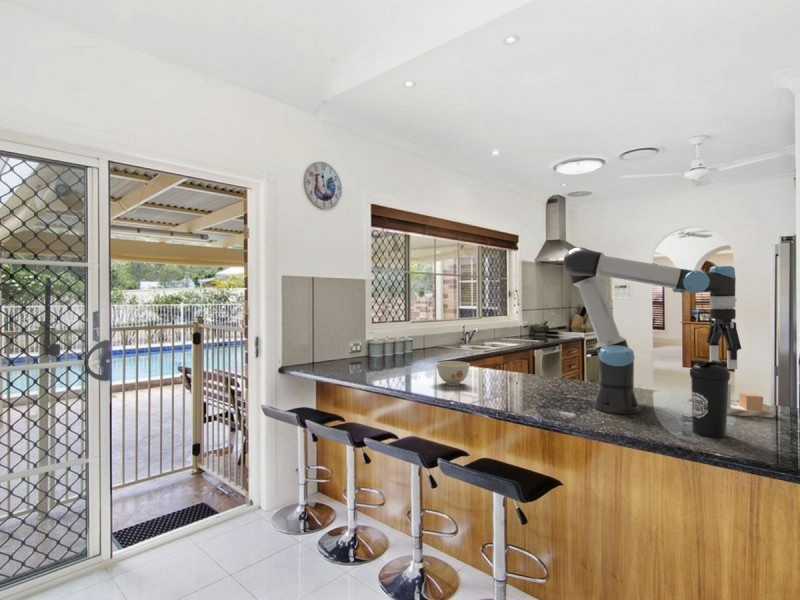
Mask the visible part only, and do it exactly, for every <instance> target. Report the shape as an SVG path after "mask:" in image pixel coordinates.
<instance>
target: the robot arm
mask: <svg viewBox="0 0 800 600" xmlns="http://www.w3.org/2000/svg"><path fill="white" fill-rule="evenodd" d="M563 267H564V270H566V272H567V273H568V275H569V277H570V280H571V282H572V283H571V284H572V285H573V286H575V287H577V288H578V291H579V295H580V297H581V299H582V302H583V305H584V307H585V310H586V313H587V315H588V319H589V321H590V325H591V327H592V329H593V332H594V335H595V338H596V340H597V343H596V345H595V350H596V351H597V355H598V359H599V360H598V361H599V370H598V371H599V374H598V375H599V377H598V378H599V382H598V383H599V385H598V390H597V393H596V396H595V398H594V403H593V405H594V408H595V409H596V410H599V411H601V412H606V413H611V414H615V415H616V414H617V415H634V414H637V413H639V412H640V407H639V406H640V405H639V401H638V399H637V396H636V393H635V390H634V387H635V386H634V383H635V382H634V381H635V379H634V374H635V373H634V371H635V365H634V363H635V362H634V361H635V355H634V354H635V352H634V350H633V349H632V348H631V347H629V345H628V342H627V340H626V338H625V337H623V336H621V335H620V333H619V330H618V327H617V325H616V322H615V319H614V315H613V313H612V311H611V308H610V306H609V304H608V300H607V297H606V294H605V292H604V290H603V286H602V285H601V281H600V280H601V278H602V276H603V277H608V278H612V279H613V278H614V279H618V280H623V281H624V280H625V281H629V282H635V283H640V284H646V285H652V286H656V287H657V286H658V287H663V288H666V289H667V288H668V289H671V290H672V292H674V293H680V294H683V293H693V294H700V293H709V307H710V309H709V318H710V319H711V320H709V321H710V323H709V324H710V325H709V330H708V334H707V337H706V344H708V345H709V362H711V361H712V360H719V361H720V358H719V357H720V356H719V355H720V353H719V352H720V351H719V350H720V349H719V347H720V344H719V342H720V339H721V337H722V336H723V338H724V340H725V343H726V346H727V348H726V351H727V352H726V359H727V360H726V361H727V362H726V368H727V370H738V351H739V350H742V346H741V341H740V338H739V333H738V330H737V322H735V321H734V322H731V320H735V319H736V318H737V317H736V309H735V307H736V302H737V299H736V281H737V280H736V279H737V278H736V268H735V267H734V266H732V265H719V266H711V267H709V271H702V270H701V271H700V270H691V269H685V268H679V267H674V266H668V265H663V264H655V263H650V262H644V261H639V260H632V259H627V258H626V259H625V258H621V257H615V256H609V255H605V254H604V253H603V252H600V251H597V250H592V249H588V248H585V247H574V248H571V249H570V250H568V251H567V252H566V254H565V255H564V258H563Z"/></svg>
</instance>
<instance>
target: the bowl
mask: <svg viewBox="0 0 800 600" xmlns="http://www.w3.org/2000/svg"><path fill="white" fill-rule="evenodd" d="M436 368H437V373H438V376H439V377H440V378H441V381H444V382H445V384H446V385H447V386H452V387H455V386H460V384H461V382H463V381H464V380H465V379H466V378H467V376H468V373H469V369H470V362H465V361H459V360H458V361H457V360H445V361H439V362H436Z"/></svg>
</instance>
